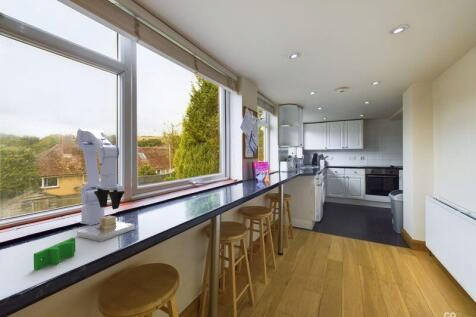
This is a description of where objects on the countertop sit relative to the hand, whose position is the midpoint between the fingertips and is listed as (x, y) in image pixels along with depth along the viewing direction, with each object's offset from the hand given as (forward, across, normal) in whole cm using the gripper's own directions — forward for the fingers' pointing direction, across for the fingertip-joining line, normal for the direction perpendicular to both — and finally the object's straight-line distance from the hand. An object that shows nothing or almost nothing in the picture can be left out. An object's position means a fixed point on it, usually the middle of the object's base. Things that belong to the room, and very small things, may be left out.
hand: (109, 208), depth 84 cm
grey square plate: (+9, -1, +2) cm, 9 cm away
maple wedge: (+9, -1, +1) cm, 10 cm away
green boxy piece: (+10, -10, +22) cm, 26 cm away
